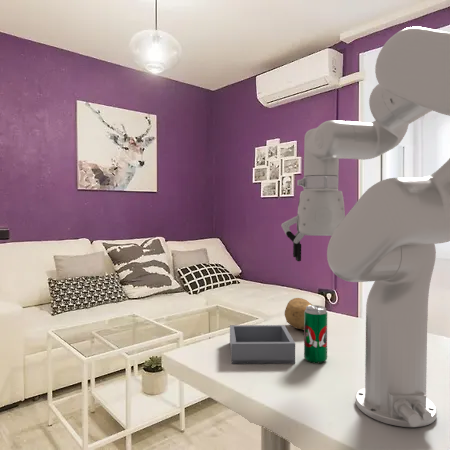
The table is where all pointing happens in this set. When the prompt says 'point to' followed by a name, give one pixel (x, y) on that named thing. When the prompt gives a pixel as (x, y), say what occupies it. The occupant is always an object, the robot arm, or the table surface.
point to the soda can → (315, 334)
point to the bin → (261, 344)
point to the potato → (296, 312)
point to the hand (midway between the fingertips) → (319, 260)
